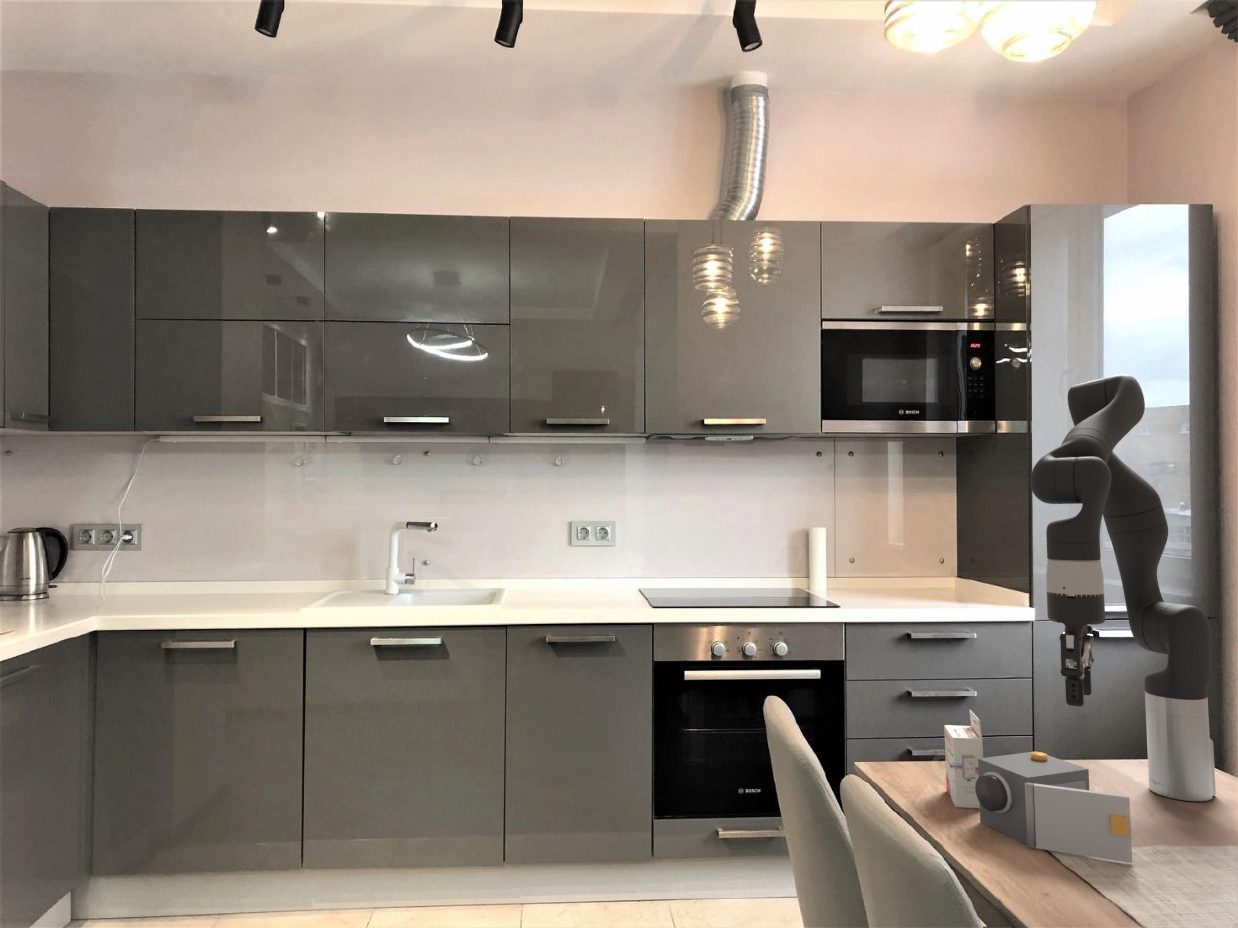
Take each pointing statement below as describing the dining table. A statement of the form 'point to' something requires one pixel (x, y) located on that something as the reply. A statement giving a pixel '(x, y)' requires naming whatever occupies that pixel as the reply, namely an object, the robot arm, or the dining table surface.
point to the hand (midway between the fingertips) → (1079, 699)
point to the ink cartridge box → (963, 762)
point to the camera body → (1020, 787)
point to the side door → (1078, 822)
